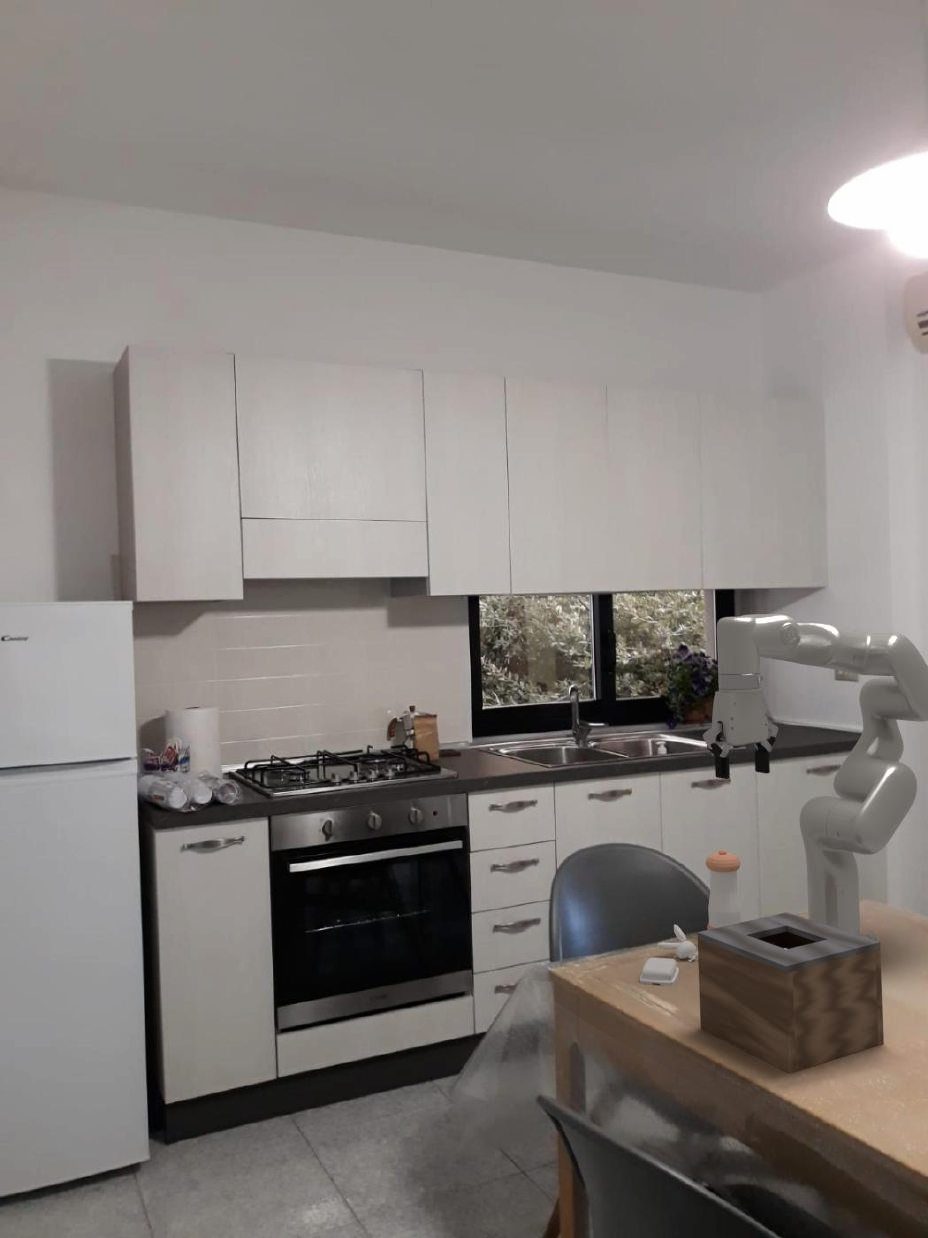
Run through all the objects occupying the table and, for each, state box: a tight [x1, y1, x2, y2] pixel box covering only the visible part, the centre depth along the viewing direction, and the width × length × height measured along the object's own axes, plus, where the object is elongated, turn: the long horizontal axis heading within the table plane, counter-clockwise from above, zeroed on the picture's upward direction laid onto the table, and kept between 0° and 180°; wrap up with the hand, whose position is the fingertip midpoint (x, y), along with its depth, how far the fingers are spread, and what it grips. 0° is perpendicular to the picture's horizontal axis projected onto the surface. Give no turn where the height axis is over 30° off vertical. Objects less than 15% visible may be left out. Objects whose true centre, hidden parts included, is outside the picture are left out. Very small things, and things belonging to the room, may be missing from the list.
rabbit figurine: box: [656, 924, 698, 963], centre depth 210 cm, size 6×4×8 cm
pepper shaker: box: [705, 849, 742, 930], centre depth 218 cm, size 7×7×19 cm
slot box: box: [696, 912, 885, 1074], centre depth 170 cm, size 20×20×16 cm
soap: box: [639, 957, 680, 987], centre depth 199 cm, size 9×7×3 cm
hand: (742, 775), depth 195 cm, fingers open, 9 cm apart
